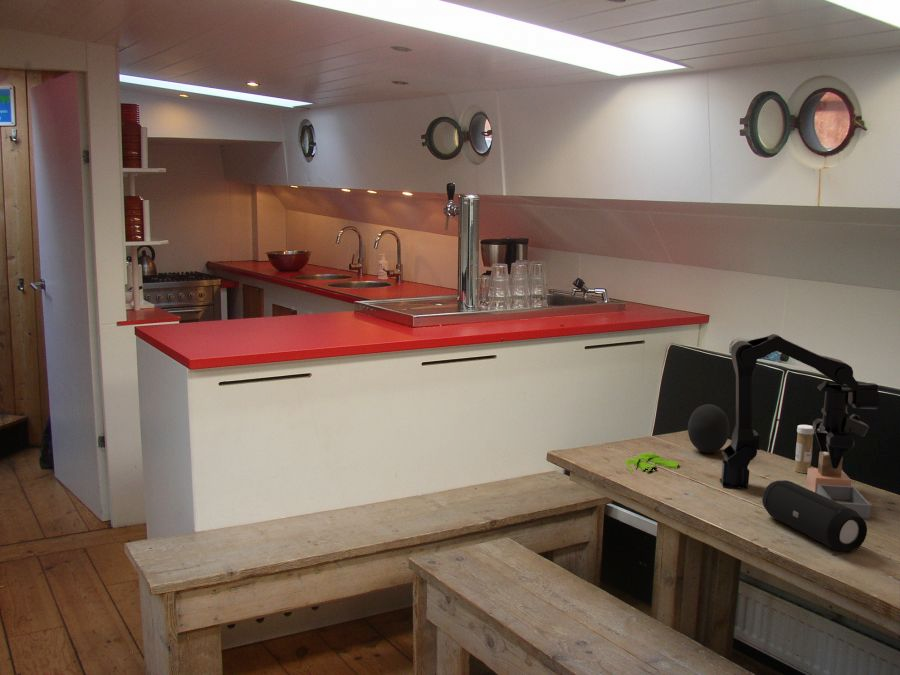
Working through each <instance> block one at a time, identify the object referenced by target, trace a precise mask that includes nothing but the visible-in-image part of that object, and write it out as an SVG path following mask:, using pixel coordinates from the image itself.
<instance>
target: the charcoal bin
mask: <svg viewBox="0 0 900 675" xmlns="http://www.w3.org/2000/svg"><path fill="white" fill-rule="evenodd" d="M817 494H819V495H822V496H824V497H826V498H828V499H831V500H844V501H852V502H838V501H836V502H837V503H839V504H842V505H844V506H846V507H848V508H850V509H853V510H854V511H856V512H857V513H858V514H859V515H860V516H861V517H862V518H863V519H868V520H869V519H871V513H872V512H871V510H872V504H871V503H870V502H869V501H868V500H867V499H866V498H865V497H864V496H863V495H862V493H861V492H860V491H859V490H858V489H857V488H856V487H855V486H851V487H849V486H834V485H818V486H817Z"/></svg>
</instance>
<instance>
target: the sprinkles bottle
mask: <svg viewBox="0 0 900 675" xmlns="http://www.w3.org/2000/svg"><path fill="white" fill-rule="evenodd" d="M796 432H797V436H796V437H797V438H796V444H795V445H796V446H795V458H794V459H795V460H794V461H795V462H794V471H795V472H797V473H800V474H807V472H808V468H812V467H811V464H812V457H813V442H814V435H815V433H814V429H813V425H809V424H799V425H797V428H796Z"/></svg>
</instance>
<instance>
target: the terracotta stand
mask: <svg viewBox="0 0 900 675" xmlns="http://www.w3.org/2000/svg"><path fill="white" fill-rule="evenodd" d="M852 482H853V480H852V479H851V478H850V477H849V475H847V473H845V472H844V470H842V472H841V477H835V476H821V474H820V473H819V472H818V467H817V468H815V467H814V468H813V467H811V468H808V472H807V473H806V483H805V484H806V485H807V486H808V488H809V490H811V491H813V492H815V493H817V486H818V485H834V486H849V487H852Z"/></svg>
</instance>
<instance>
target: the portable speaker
mask: <svg viewBox="0 0 900 675" xmlns="http://www.w3.org/2000/svg"><path fill="white" fill-rule="evenodd" d="M761 497H762V499H761V502H762V506H763V507H764V509H765V510H766V512H767V513H768V515H769V516H770V517H772V518H774V519H775V520H778V521H779V522H781V523H783V524H785V525H787V526H789V527H790V528H793V529H795V530H796V531H798V532H801V533H802V534H804V535H805V536H809V537H810V538H812V539H814V540H815V541H817V542H820V543H821V544H823V545H826V546H827V547H828V548H831V549H832V550H835V551H838V552H853V551H856V550H857V549H859V548H860V547H861V546H862V545H863V543H864V542H865V540H866V537H867V534H868V525H867V523H866V521H865V518H862V517H861V516H860V515H859V514H858V513H857V512H856V511H854V510H853V509H850V508H848V507H846V506H844V505H842V504H839V503H837V502H838V501H835V500H834V499H832V500H831V499H828V498H826V497H824V496H822V495H819V494H817V493H815V492H813V491H812V490H811V489H808V488H805V487H804V486H801V485H800V484H797V483H795V482H793V481H790V480H788V479H786V480H774V481H772V482H770V483H769V484H767V486H766V487H765V489H764V491H763V494H762V496H761Z"/></svg>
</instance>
